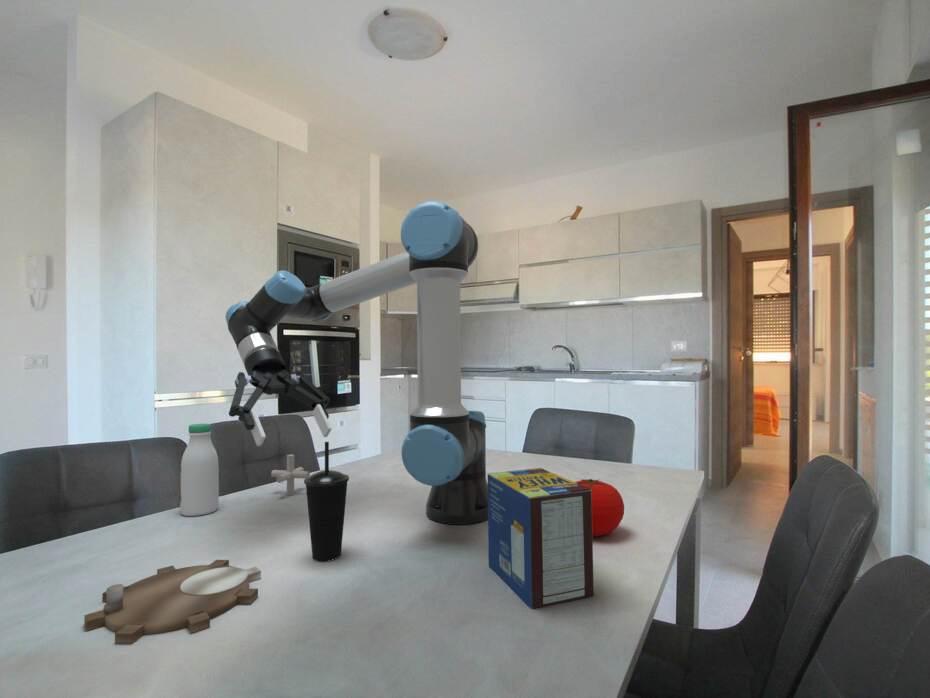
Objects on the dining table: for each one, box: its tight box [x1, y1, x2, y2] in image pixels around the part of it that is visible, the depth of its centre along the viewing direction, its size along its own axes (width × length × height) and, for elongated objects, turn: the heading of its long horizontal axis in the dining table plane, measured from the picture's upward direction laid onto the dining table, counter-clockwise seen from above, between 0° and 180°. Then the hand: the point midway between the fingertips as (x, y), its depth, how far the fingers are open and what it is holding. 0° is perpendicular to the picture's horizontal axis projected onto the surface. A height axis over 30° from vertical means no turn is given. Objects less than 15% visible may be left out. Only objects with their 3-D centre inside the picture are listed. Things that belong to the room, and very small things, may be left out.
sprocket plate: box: [83, 559, 262, 645], centre depth 70 cm, size 22×22×4 cm
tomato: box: [574, 478, 625, 537], centre depth 95 cm, size 12×12×10 cm
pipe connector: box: [270, 454, 311, 496], centre depth 125 cm, size 10×10×10 cm
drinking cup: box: [303, 441, 350, 562], centre depth 85 cm, size 8×8×20 cm
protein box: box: [487, 467, 595, 609], centre depth 75 cm, size 10×15×16 cm
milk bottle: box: [179, 423, 220, 517], centre depth 111 cm, size 8×8×20 cm
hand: (296, 437), depth 93 cm, fingers open, 13 cm apart
